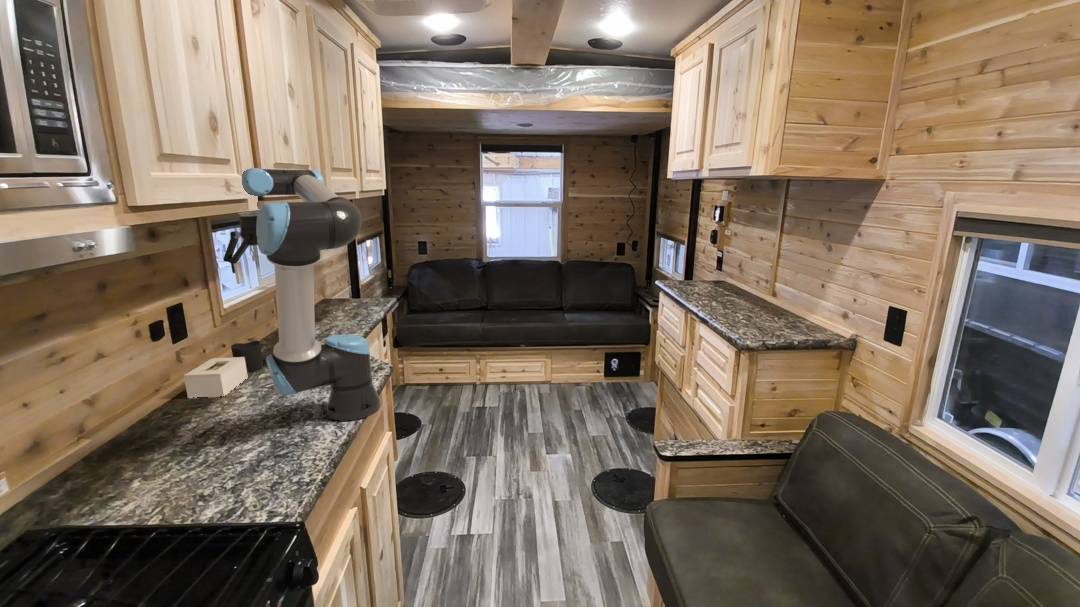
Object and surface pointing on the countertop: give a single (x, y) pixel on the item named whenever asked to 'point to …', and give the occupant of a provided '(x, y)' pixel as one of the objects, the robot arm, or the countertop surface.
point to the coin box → (215, 377)
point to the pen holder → (249, 354)
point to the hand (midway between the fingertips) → (262, 282)
